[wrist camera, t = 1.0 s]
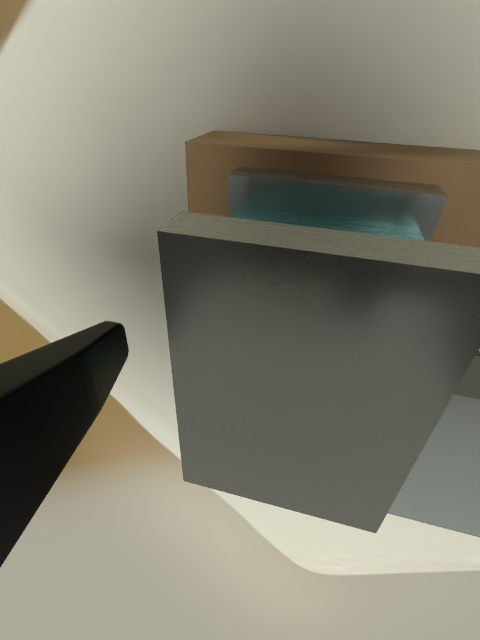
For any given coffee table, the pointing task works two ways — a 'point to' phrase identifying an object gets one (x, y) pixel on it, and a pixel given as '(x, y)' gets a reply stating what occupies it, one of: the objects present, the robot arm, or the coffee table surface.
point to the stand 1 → (339, 171)
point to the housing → (315, 338)
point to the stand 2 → (448, 465)
